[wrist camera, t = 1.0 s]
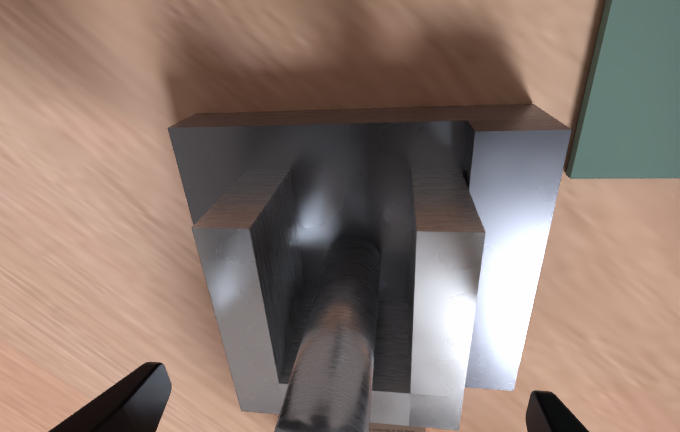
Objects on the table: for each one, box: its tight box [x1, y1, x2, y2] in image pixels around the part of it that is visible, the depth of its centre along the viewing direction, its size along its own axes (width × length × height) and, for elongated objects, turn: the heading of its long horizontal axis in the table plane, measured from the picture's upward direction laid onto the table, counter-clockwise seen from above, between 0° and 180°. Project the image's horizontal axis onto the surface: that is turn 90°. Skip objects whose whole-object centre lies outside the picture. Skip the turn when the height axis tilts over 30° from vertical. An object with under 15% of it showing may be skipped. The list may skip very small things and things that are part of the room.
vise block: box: [168, 104, 572, 432], centre depth 12 cm, size 12×10×9 cm
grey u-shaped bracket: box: [192, 169, 486, 430], centre depth 12 cm, size 7×7×4 cm
